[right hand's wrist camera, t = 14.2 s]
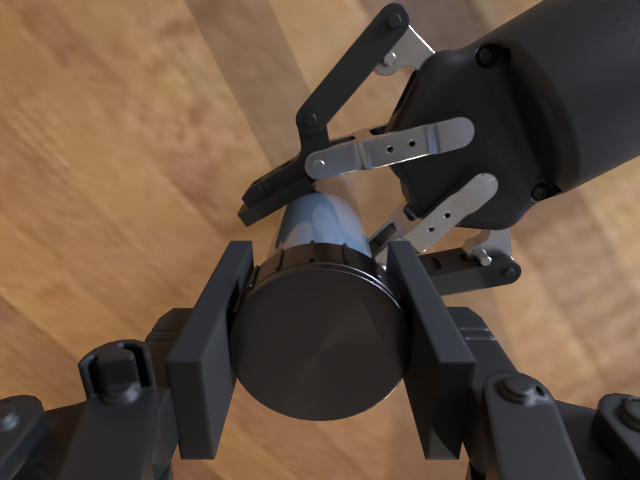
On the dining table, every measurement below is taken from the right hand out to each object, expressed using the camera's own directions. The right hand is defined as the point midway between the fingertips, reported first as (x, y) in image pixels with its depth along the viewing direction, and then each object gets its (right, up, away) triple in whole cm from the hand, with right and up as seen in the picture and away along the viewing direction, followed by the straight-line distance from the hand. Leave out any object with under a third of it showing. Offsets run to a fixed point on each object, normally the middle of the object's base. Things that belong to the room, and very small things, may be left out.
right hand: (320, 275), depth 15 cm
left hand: (-2, +1, +5) cm, 6 cm away
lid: (0, -1, -4) cm, 4 cm away
